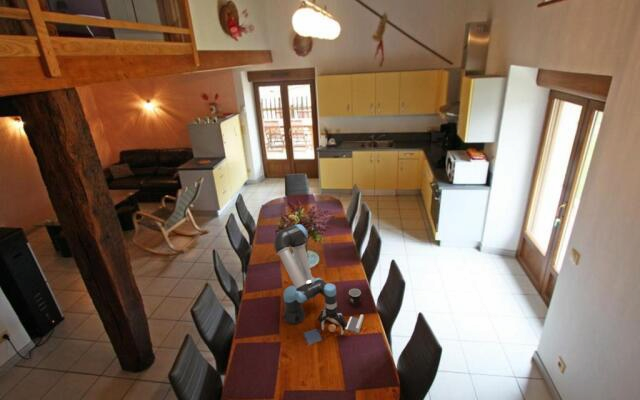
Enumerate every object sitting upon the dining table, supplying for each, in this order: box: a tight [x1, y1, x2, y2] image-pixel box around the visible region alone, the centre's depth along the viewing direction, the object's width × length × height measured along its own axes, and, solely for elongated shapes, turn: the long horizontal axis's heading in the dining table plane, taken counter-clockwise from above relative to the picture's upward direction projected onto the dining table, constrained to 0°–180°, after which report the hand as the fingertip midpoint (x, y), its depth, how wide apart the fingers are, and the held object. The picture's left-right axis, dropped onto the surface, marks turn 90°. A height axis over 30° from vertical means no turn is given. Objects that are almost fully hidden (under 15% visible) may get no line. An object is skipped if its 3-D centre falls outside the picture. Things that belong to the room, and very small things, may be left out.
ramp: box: [321, 307, 340, 326], centre depth 232 cm, size 13×9×6 cm
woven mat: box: [302, 328, 323, 346], centre depth 219 cm, size 10×11×2 cm
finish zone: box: [345, 314, 364, 334], centre depth 226 cm, size 9×13×4 cm
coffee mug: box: [348, 288, 365, 307], centre depth 243 cm, size 12×9×10 cm
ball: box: [328, 323, 337, 333], centre depth 222 cm, size 5×5×5 cm
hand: (332, 331), depth 223 cm, fingers open, 13 cm apart
